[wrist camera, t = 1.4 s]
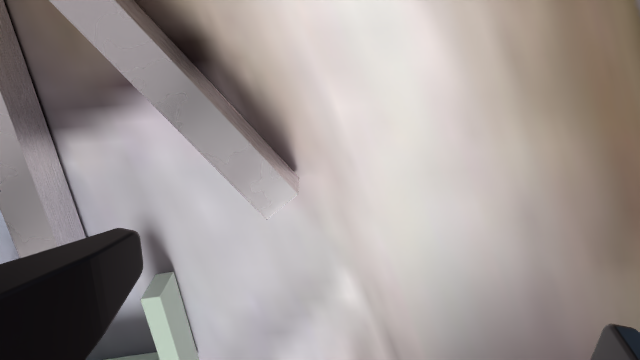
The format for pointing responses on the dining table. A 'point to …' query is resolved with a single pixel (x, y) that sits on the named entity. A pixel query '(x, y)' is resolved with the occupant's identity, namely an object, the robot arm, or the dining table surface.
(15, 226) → the tongs fixed arm
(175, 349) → the lock clip
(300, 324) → the dining table surface
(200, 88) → the tong arm
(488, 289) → the dining table surface
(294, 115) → the dining table surface
